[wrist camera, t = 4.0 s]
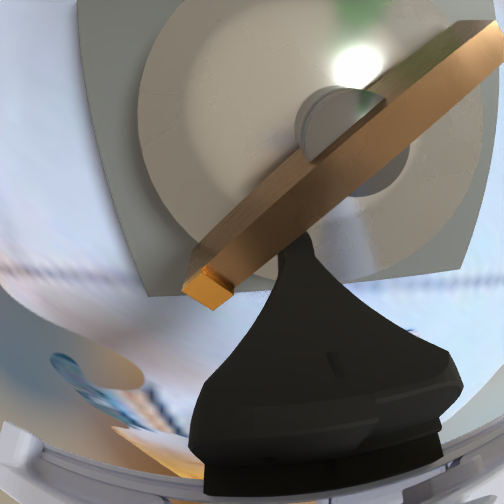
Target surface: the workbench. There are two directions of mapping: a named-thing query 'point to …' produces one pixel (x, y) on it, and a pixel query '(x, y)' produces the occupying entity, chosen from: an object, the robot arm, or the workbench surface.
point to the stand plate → (138, 179)
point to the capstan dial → (311, 130)
